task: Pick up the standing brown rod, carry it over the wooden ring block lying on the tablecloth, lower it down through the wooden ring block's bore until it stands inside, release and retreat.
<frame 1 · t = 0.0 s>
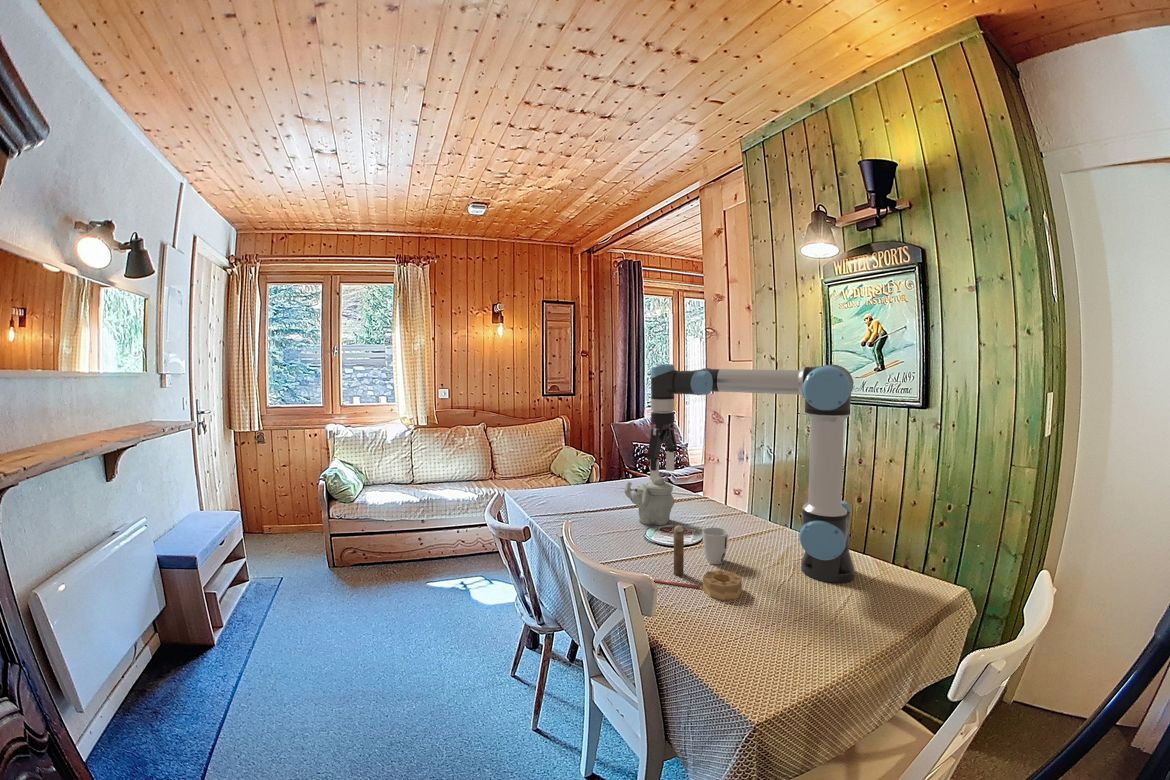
hand: (662, 475, 176), 28 cm above the table, fingers open, 13 cm apart
thin red rod: (676, 585, 158), on the table
cup: (714, 561, 175), on the table
wooden ring block: (722, 591, 153), on the table
brown rod: (678, 574, 165), on the table
teapot: (649, 521, 215), on the table
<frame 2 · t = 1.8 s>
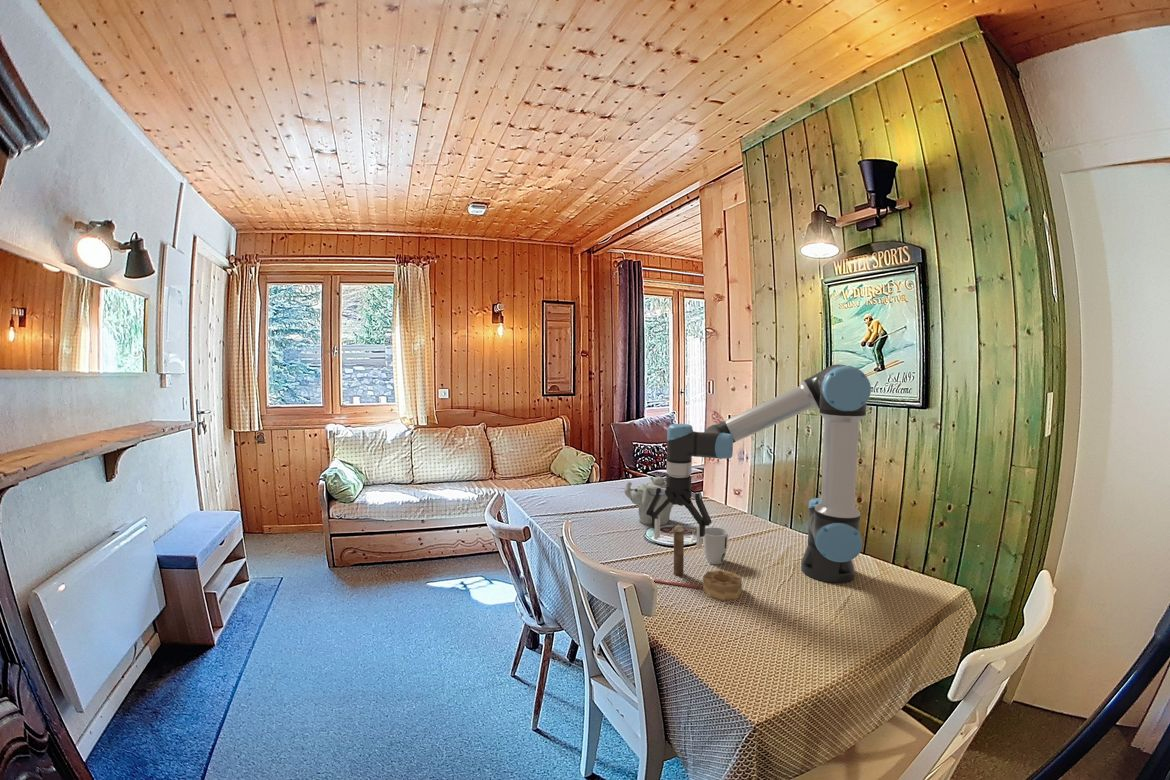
hand: (677, 542, 164), 10 cm above the table, fingers open, 13 cm apart
nothing on the table moved.
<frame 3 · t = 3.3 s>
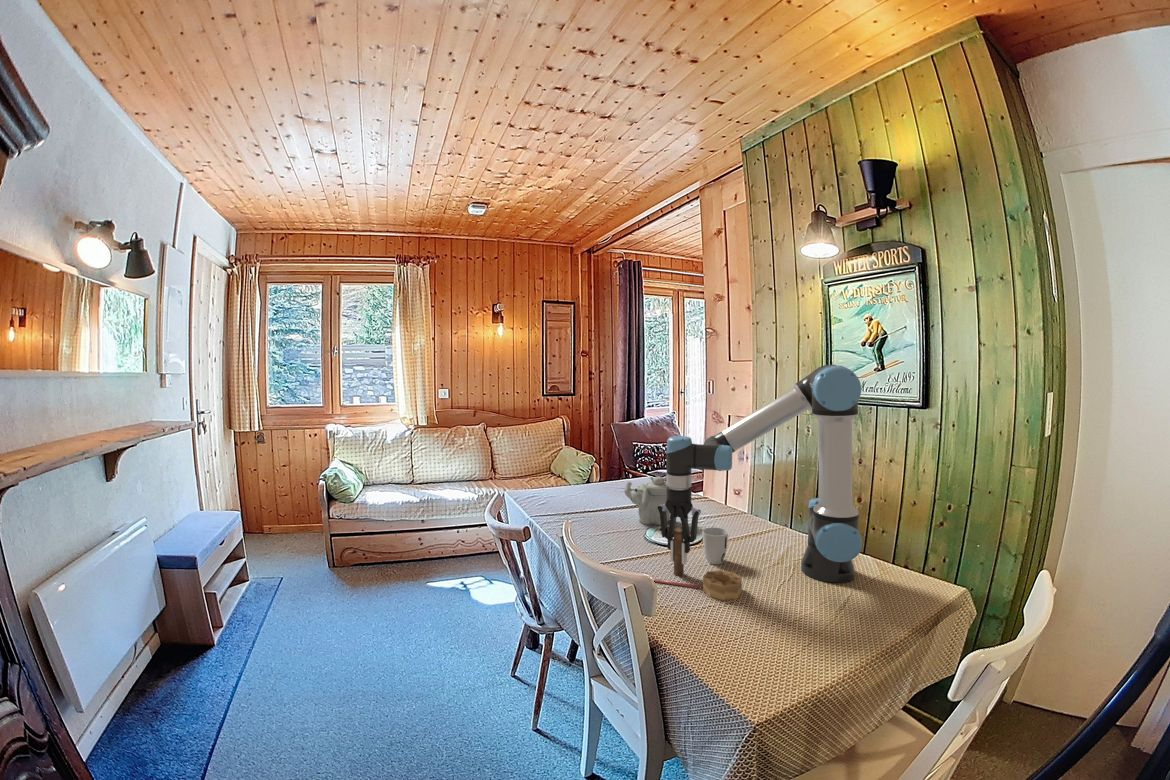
hand: (678, 561, 165), 4 cm above the table, fingers closed on brown rod, 3 cm apart
brown rod: (678, 573, 165), on the table, touching gripper
everything else where it was.
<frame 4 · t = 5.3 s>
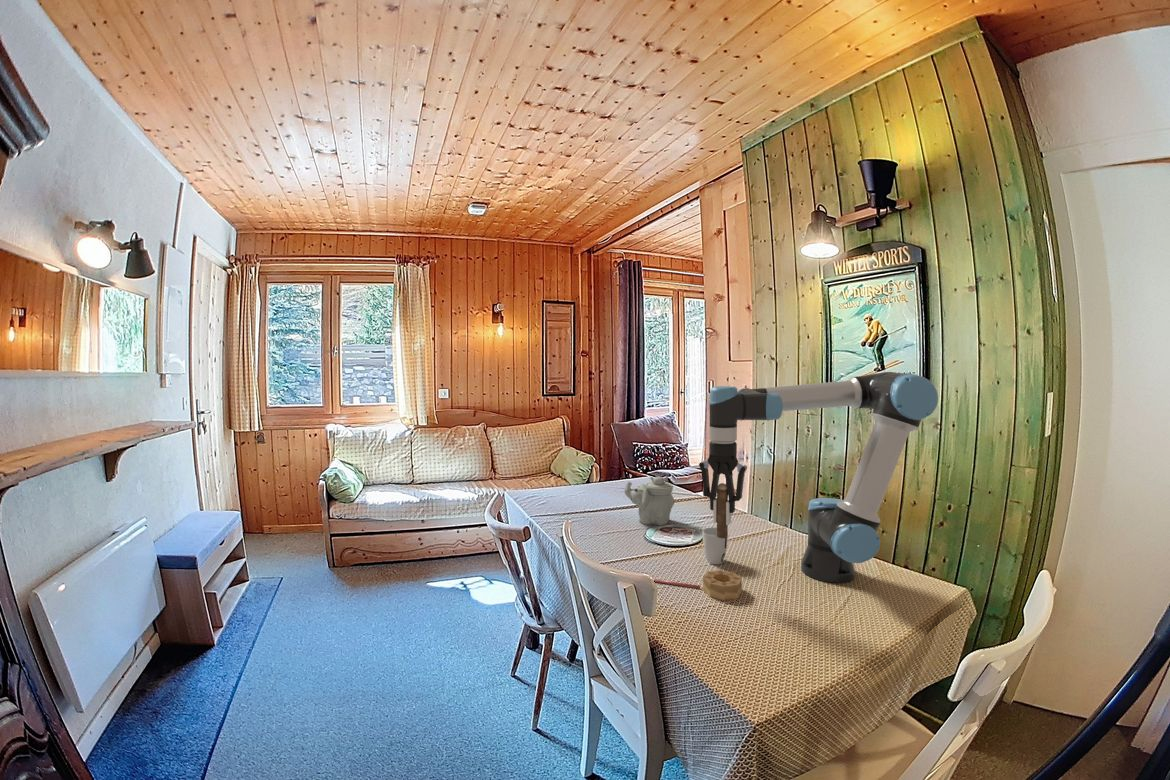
hand: (722, 522, 152), 20 cm above the table, fingers closed on brown rod, 3 cm apart
brown rod: (722, 536, 152), point 16 cm above the table, touching gripper
everything else where it was.
when the fingers open (6 cm above the table, at t = 7.7 s): brown rod stays where it is, resting in wooden ring block.
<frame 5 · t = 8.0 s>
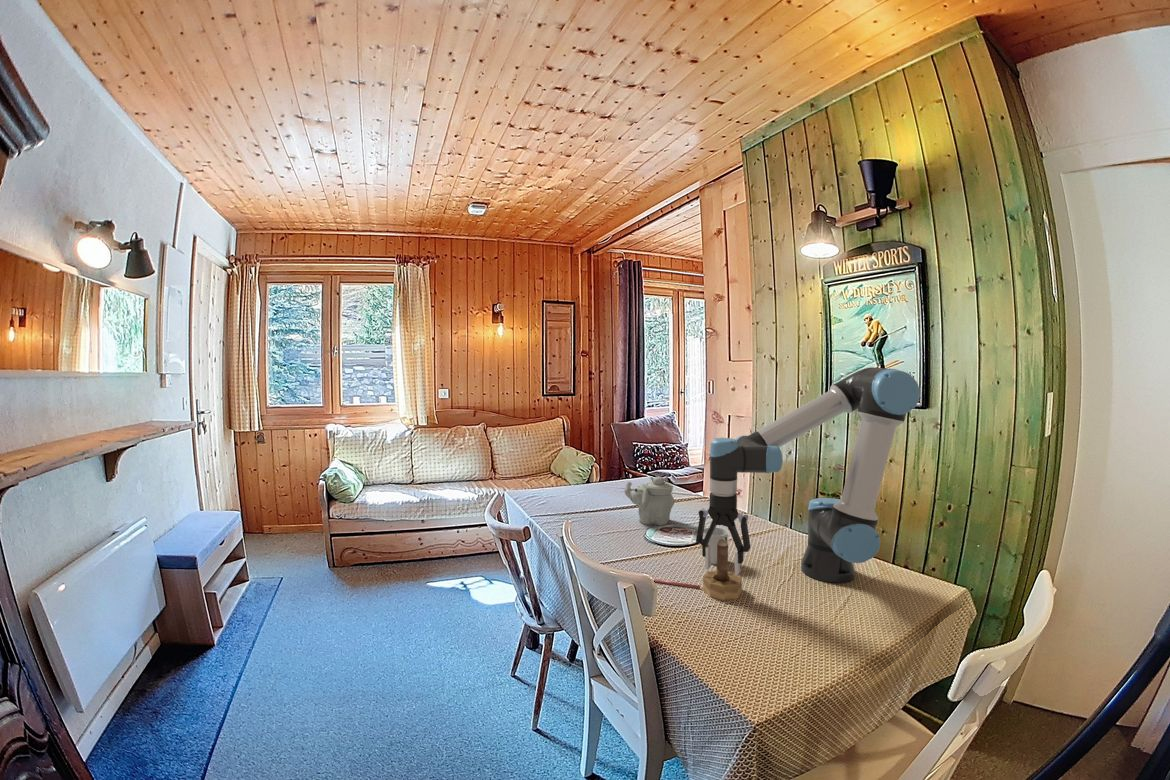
hand: (722, 570, 153), 6 cm above the table, fingers open, 8 cm apart
brown rod: (722, 591, 153), resting in wooden ring block
everything else where it was.
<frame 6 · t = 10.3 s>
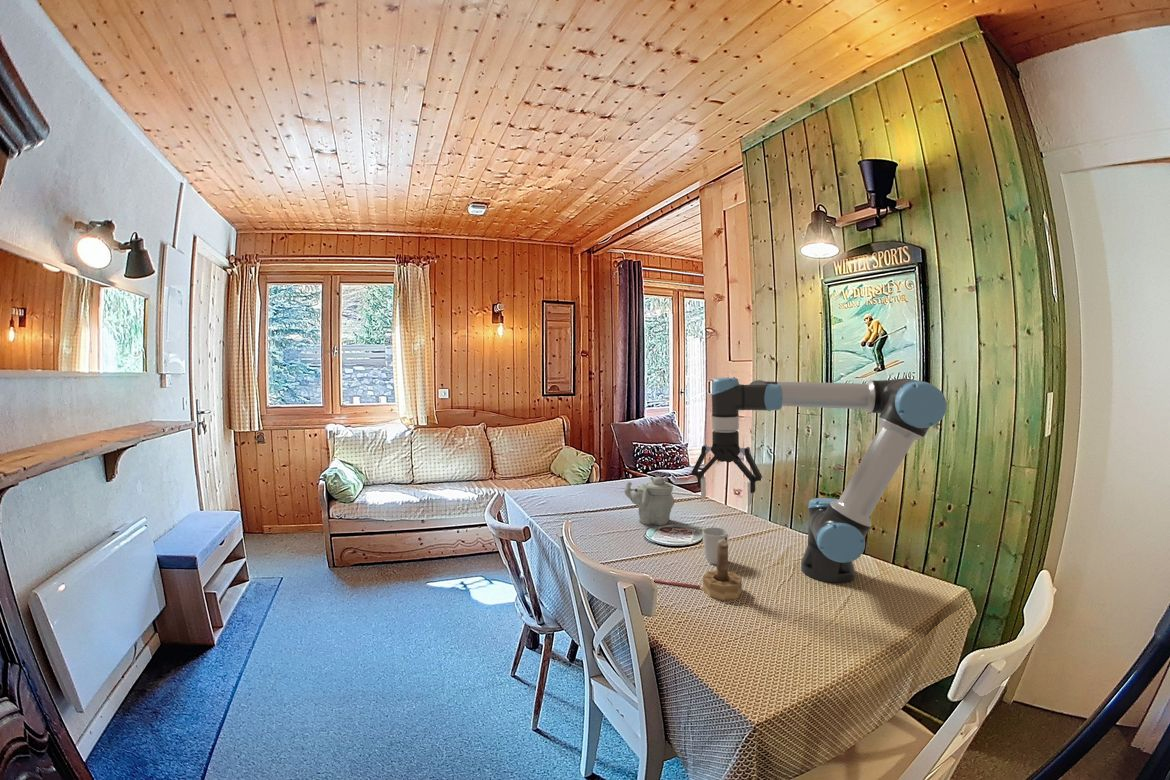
hand: (726, 501, 158), 24 cm above the table, fingers open, 13 cm apart
nothing on the table moved.
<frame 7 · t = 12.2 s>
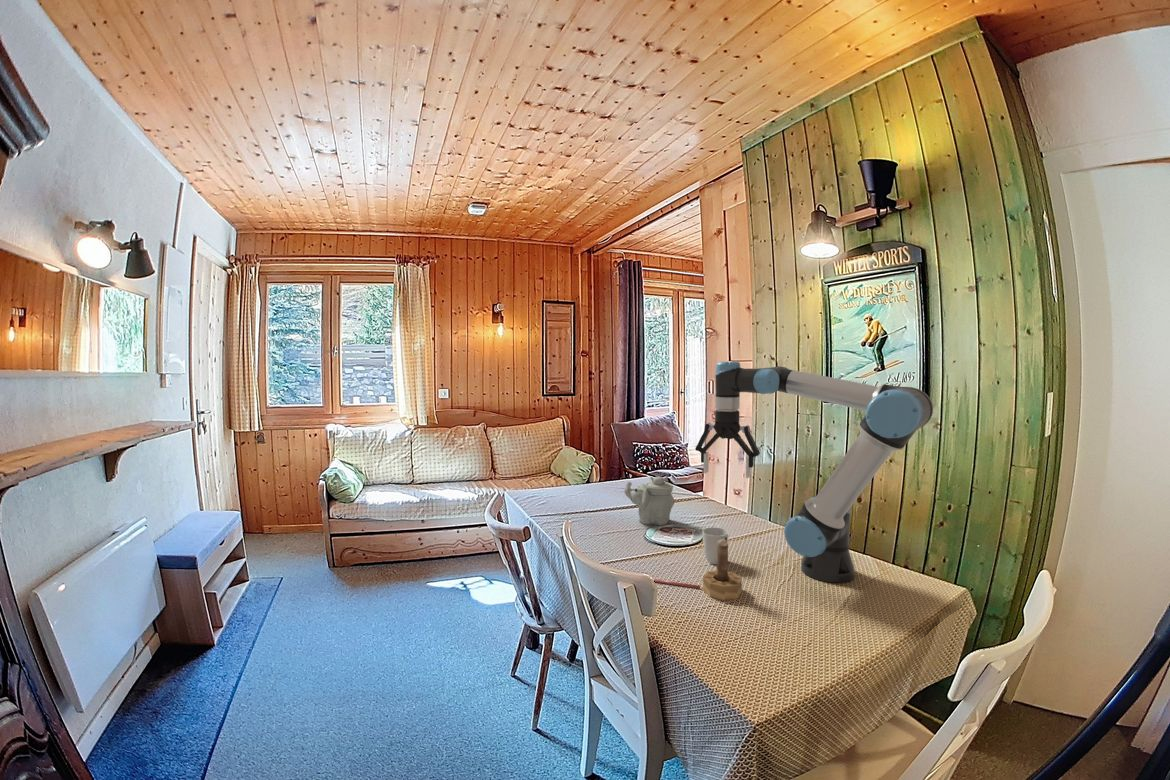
hand: (726, 474, 172), 29 cm above the table, fingers open, 13 cm apart
nothing on the table moved.
at the end: brown rod 0.0 cm off-centre on the wooden ring block, point 0.0 cm above the wooden ring block's base; brown rod tilted 0°; the gripper is holding nothing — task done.
